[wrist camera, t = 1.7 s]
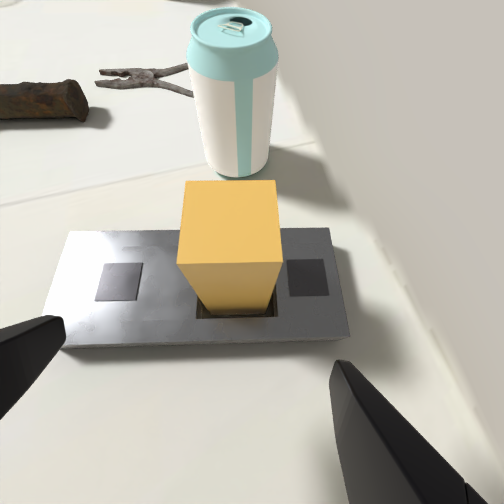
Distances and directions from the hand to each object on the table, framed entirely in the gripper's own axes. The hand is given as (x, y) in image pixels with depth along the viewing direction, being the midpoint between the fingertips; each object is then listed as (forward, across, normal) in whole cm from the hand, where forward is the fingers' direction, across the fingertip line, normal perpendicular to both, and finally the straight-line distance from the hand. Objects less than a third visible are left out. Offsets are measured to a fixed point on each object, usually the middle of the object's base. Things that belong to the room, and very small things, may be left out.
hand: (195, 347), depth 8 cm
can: (+24, +3, -6) cm, 24 cm away
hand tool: (+25, +31, -7) cm, 41 cm away
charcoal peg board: (+12, +3, +5) cm, 13 cm away
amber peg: (+12, 0, +4) cm, 13 cm away
